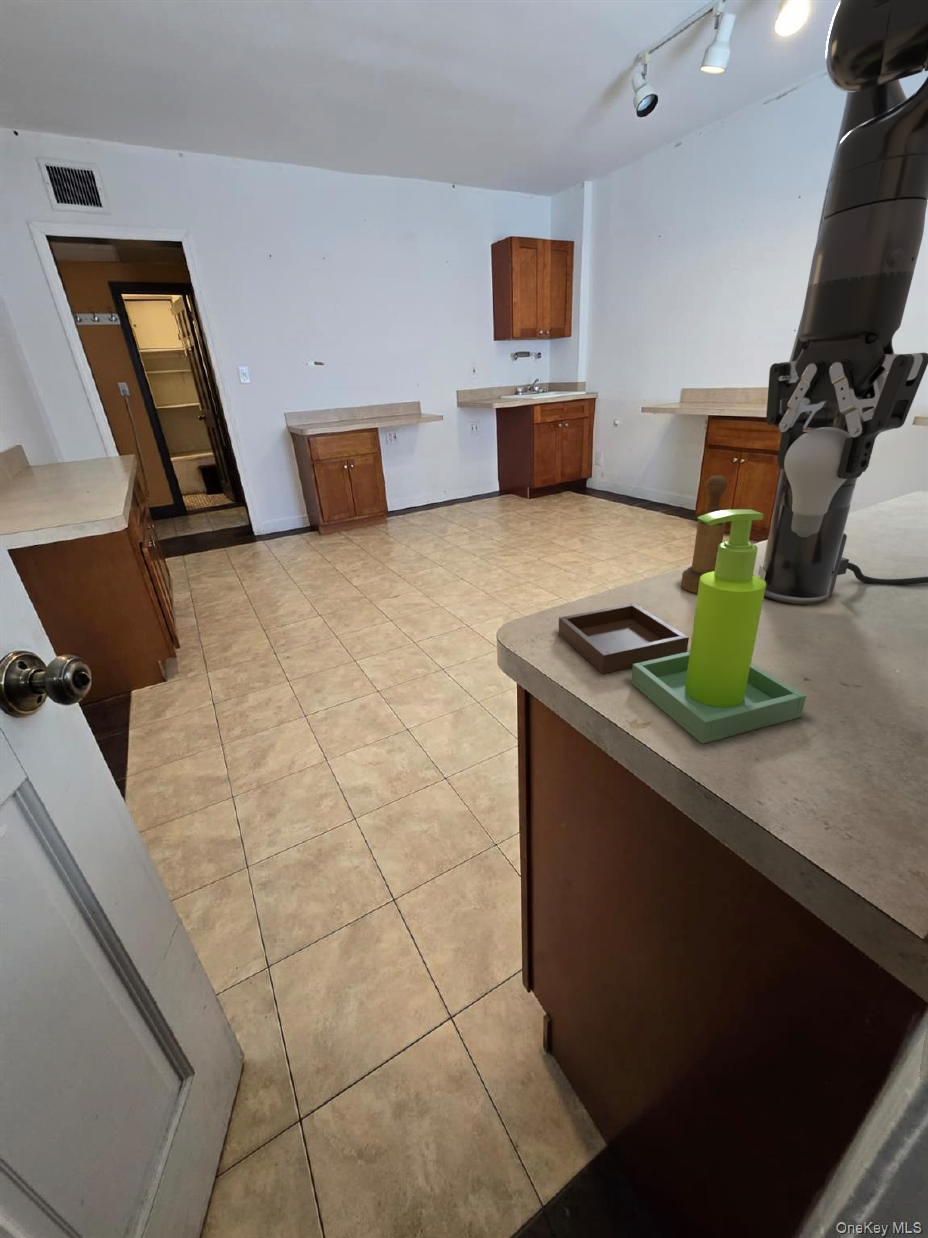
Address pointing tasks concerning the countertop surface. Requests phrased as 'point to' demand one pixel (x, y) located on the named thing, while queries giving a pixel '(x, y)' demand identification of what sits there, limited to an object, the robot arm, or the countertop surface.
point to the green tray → (709, 723)
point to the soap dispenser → (726, 616)
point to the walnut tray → (621, 637)
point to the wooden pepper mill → (706, 538)
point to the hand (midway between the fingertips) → (817, 472)
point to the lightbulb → (814, 476)
